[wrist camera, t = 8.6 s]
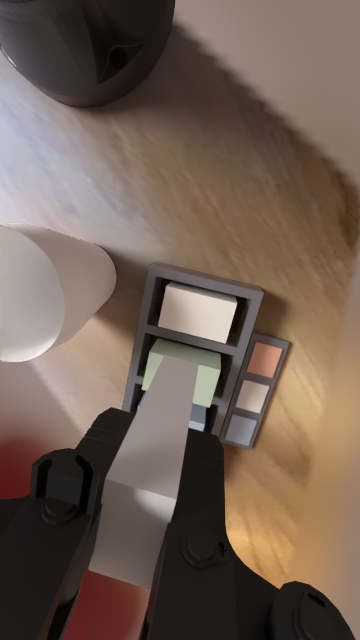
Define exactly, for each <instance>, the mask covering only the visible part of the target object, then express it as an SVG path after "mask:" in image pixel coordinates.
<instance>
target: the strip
mask: <svg viewBox="0 0 360 640" xmlns="http://www.w3.org/2000/svg"><path fill="white" fill-rule="evenodd" d="M288 345H289V341H288V340H284V339H280V338H276V337H272V336H268V335H264V334H260V333H256V332H252V333H251V337H250V340H249V343H248V346H247V349H246V352H245V356H244V359H243V362H242V365H241V368H240V372H239V375H238V378H237V381H236V384H235V387H234V391H233V394H232V397H231V400H230V403H229V407H228V410H227V413H226V416H225V419H224V422H223V426H222V429H221V432H220V435H219V441H220V442H222V443H226V444H229V445H233V446H237V447H240V448H244V449H247V450H251V448H252V445H253V442H254V440H255V437H256V434H257V431H258V429H259V426H260V423H261V420H262V417H263V415H264V412H265V409H266V406H267V404H268V401H269V398H270V395H271V392H272V390H273V387H274V384H275V381H276V379H277V376H278V373H279V370H280V367H281V365H282V362H283V359H284V356H285V354H286V351H287V348H288Z"/></svg>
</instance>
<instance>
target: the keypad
mask: <svg viewBox="0 0 360 640" xmlns="http://www.w3.org/2000/svg"><path fill="white" fill-rule="evenodd" d="M162 278H166V279H170V280H175V281H179V282H183V283H187V284H191V285H195V286H199V287H203V288H207V289H211V290H216V291H220V292H224V293H228V294H232V295H236V296H240V297H244V298H246V300H245V304H244V307H243V310H242V314H241V317H240V320H239V324H238V327H237V330H236V334H235V335H232V334H228V337H227V341H226V344H225V343H221V342H217V341H214V340H210V339H206V338H202V337H198V336H194V335H190V334H186V333H182V332H178V331H174V330H170V329H167V328H163V327H159V326H158V324H159V319H160V316H157V315H155V311H156V306H157V302H158V297H159V292H160V287H161V282H162ZM263 295H264V292H263V291H262V290H261V288H260V287H259V286H256V285H252V284H247V283H243V282H239V281H235V280H231V279H227V278H222V277H218V276H214V275H210V274H206V273H202V272H198V271H193V270H189V269H185V268H181V267H177V266H173V265H168V264H164V263H160V262H155V263H152V264H149V266H148V272H147V277H146V283H145V288H144V293H143V299H142V304H141V309H140V315H139V320H138V325H137V331H136V336H135V341H134V347H133V352H132V357H131V363H130V368H129V373H128V379H127V384H126V389H125V395H124V400H123V405H122V410H123V411H126V412H130V413H134V414H136V413H137V410H138V406H139V403H137V400H138V395H139V390H140V385H143V381H144V376H145V371H146V366H147V361H145V360H146V356H147V351H148V346H149V341H150V336H151V334H152V335H156V336H160V337H164V338H168V339H172V340H176V341H180V342H183V343H187V344H191V345H195V346H199V347H203V348H207V349H211V350H214V351H218V352H222V353H226V354H229V357H228V361H227V364H226V368H225V371H224V374H223V378H222V381H219V380H218V381H217V384H216V388H215V391H214V395H213V398H212V401H211V404H215V405H214V408H213V411H212V415H211V418H210V421H209V422H205V425H204V429H203V432H206V433H210V434H214V435H217V437H218V438H219V435H220V431H221V428H222V425H223V422H224V419H225V415H226V412H227V409H228V406H229V403H230V400H231V396H232V393H233V390H234V387H235V384H236V380H237V377H238V374H239V371H240V368H241V365H242V361H243V358H244V355H245V352H246V349H247V345H248V342H249V339H250V336H251V333H252V330H253V326H254V323H255V320H256V317H257V314H258V310H259V307H260V304H261V301H262V298H263Z"/></svg>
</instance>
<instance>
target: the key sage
mask: <svg viewBox="0 0 360 640" xmlns="http://www.w3.org/2000/svg"><path fill="white" fill-rule="evenodd" d="M164 355H167V356H171V357H175V358H178V359H182V360H186V361H190V362H194V363H198V364H199V366H198V372H197V378H196V384H195V390H194V396H193V403H194V404H198V405H201V406H205V407H209V408H210V405H211V401H212V398H213V395H214V391H215V388H216V384H217V381H218V378H219V374H220V371H221V362H220V354H219V353H215V352H211V351H207V350H203V349H199V348H196V347H192V346H188V345H184V344H180V343H176V342H172V341H168V340H165V339H161V338H158V339H157V340H156V342H155V344H154V345H153V347H152V348H151V350H150V352H149V356H148V361H147V366H146V371H145V376H144V381H143V385H142V390H146V391H147V390H148V388H149V386H150V384H151V382H152V380H153V378H154V376H155V373H156V371H157V369H158V367H159V365H160V363H161V361H162V359H163V357H164Z"/></svg>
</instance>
